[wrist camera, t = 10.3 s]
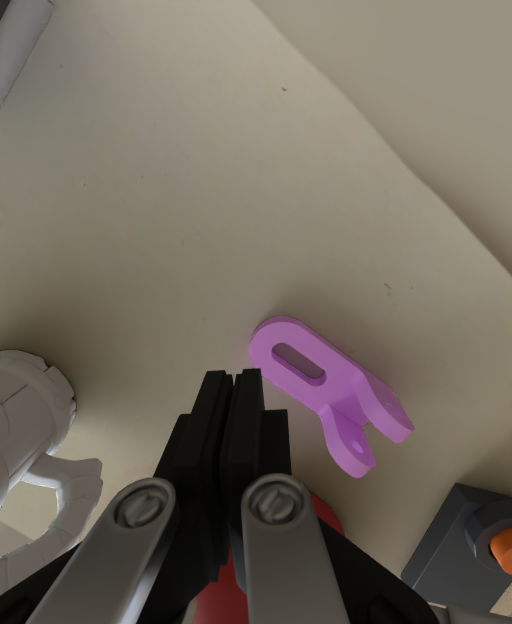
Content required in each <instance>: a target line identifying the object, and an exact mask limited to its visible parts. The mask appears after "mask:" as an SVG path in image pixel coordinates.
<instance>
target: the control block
mask: <svg viewBox="0 0 512 624" xmlns="http://www.w3.org/2000/svg"><path fill="white" fill-rule="evenodd" d="M507 528H512V497H510V496H506V495H502V494H498V493H494V492H490V491H486V490H482V489H478V488H474V487H470V486H466V485H462V484H458V483H455V485H454V487H453V488H452V490H451V492H450V493H449V495H448V497H447V498H446V500H445V502H444V503H443V505H442V507H441V508H440V510H439V512H438V513H437V515H436V517H435V519H434V520H433V522H432V524H431V525H430V527H429V529H428V530H427V532H426V534H425V535H424V537H423V539H422V540H421V542H420V544H419V545H418V547H417V549H416V550H415V552H414V554H413V555H412V557H411V559H410V561H409V562H408V564H407V566H406V567H405V569H404V571H403V572H402V574H401V578H402V581H403V582H404V583H405V584H407V585H408V586H409V587H411V588H412V589H413V590H415V591H416V592H417V593H418V594H419V595H420V596H421V597H422V598H423V599H424V600H425V601H428V602H432V603H436V604H440V605H445V606H447V602H448V603H452V604H456V605H461V606H465V607H469V608H473V609H477V610H482V611H486V612H489V611H490V610H491V609H492V607H493V606H494V605H495V604H496V602H497V601H498V600H499V598H500V597H501V596H502V594H503V593H504V592H505V590H506V589H507V588H508V586H509V585H510V584H511V583H512V575H511V574H508V573H507V572H505V571H504V570H503V569H502V567H501V565H500V564H499V562H498V561H497V559H496V557H495V556H494V554H493V553H492V551H491V549H490V546H489V542H490V541H491V539H492V538H493V536H494V535H496V534H498V533H499V532H501V531H503V530H505V529H507Z"/></svg>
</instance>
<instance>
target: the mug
mask: <svg viewBox="0 0 512 624" xmlns="http://www.w3.org/2000/svg"><path fill="white" fill-rule="evenodd" d="M73 396H74V392H73V390H72V387H71V386H70V384H69V382H68V381H67V379H66V378H65V377H64V376H63V374H62V373H61V372H60V371H59V370H58V369H57V368H56V367H54V366H52V367H50V368H48V367H47V366H46V364H45V361H44V360H43V359H42V358H40V357H38V356H35V355H32V354H29V353H26V352H23V351H18V350H6V351H0V509H1V507H2V505H3V503H4V501H5V499H6V497H7V494H8V492H9V491H10V490H11V488H12V487H13V486H14V485H15V484H16V483H17V482H18V481H19V480H21V481H24V482H27V483H31V484H35V485H39V486H45V487H51V488H56V489H57V491H56V496H57V511H58V513H57V514H56V516H55V517H54V519H53V521H52V522H51V524H50V525H49V526H48V528H47V529H46V530H45V531H44V532H43V535H42V536H41V537H40V538H38V539H37V540H35V541H34V542H32V543H30V544H26V545H24V546H22V547H20V548H18V549H16V550H14V551H12V552H10V553H7V554H5V555H4V556H2V557H1V558H0V595H2V594H3V593H4V592H6V591H8V590H9V589H11V588H12V587H14V586H15V585H17V584H18V583H20V582H21V581H23V580H24V579H26V578H27V577H29V576H30V575H32V574H33V573H35V572H36V571H38V570H39V569H41V568H42V567H44V566H45V565H47V564H49V563H50V562H52V561H53V560H55V559H56V558H58V557H59V556H61V555H62V554H64V553H65V552H67V551H68V550H70V549H71V548H73V547H74V546H75V545H76V544H77V542H78V541H79V540H80V538H81V536H82V534H83V532H84V530H85V527H86V525H87V522H88V520H89V518H90V516H91V513H92V512H93V510H94V509H95V507H96V505H97V503H98V501H99V499H100V496H101V492H102V485H103V481H102V479H101V478H100V475H101V469H102V462H101V461H100V460H99V459H97V458H92V459H85V460H78V461H73V460H66V459H61V458H57V457H53V456H52V455H53V454H54V453H55V452H56V451H57V450H58V449H59V447H60V445H61V444H62V442H63V441H64V439H65V438H66V435H67V433H68V430H69V427H70V426H71V424H72V422H73V420H74V417H75V414H76V411H74V410H75V409H76V402H75V401H74V400H72V397H73Z"/></svg>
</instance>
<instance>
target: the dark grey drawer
mask: <svg viewBox="0 0 512 624" xmlns="http://www.w3.org/2000/svg"><path fill="white" fill-rule="evenodd" d="M55 8H56V7H55V6H54V4H53V3H52V2H50V1H49V0H0V107H1V105H2V103H3V102H4V100H5V98H6V96H7V94H8V93H9V91H10V89H11V87H12V85H13V84H14V82H15V80H16V78H17V76H18V75H19V73H20V71H21V69H22V67H23V66H24V64H25V62H26V60H27V58H28V57H29V55H30V53H31V51H32V50H33V48H34V46H35V44H36V42H37V41H38V39H39V37H40V35H41V33H42V32H43V30H44V28H45V26H46V24H47V23H48V21H49V19H50V17H51V15H52V14H53V12H54V10H55Z"/></svg>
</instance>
